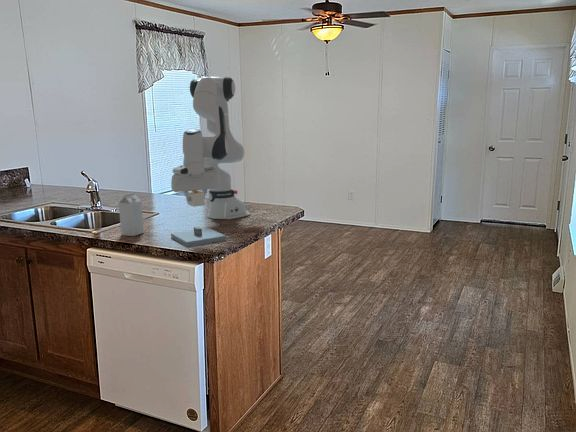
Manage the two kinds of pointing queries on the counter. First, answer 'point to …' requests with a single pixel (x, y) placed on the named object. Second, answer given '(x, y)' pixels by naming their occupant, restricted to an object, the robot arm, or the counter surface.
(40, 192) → the counter surface
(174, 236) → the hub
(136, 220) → the milk carton
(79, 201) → the counter surface
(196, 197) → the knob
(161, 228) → the counter surface
